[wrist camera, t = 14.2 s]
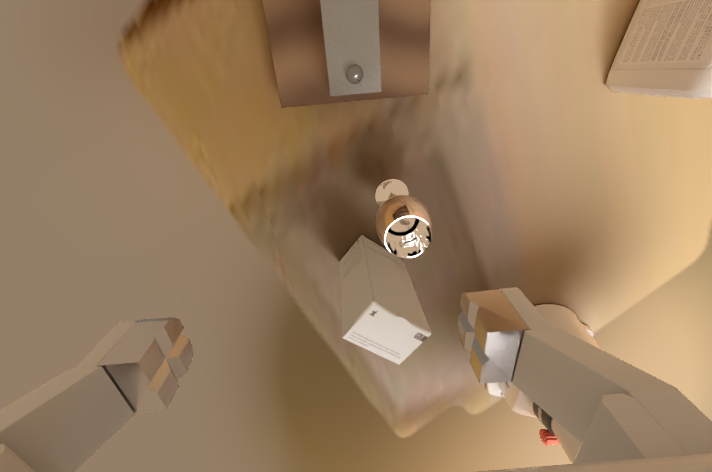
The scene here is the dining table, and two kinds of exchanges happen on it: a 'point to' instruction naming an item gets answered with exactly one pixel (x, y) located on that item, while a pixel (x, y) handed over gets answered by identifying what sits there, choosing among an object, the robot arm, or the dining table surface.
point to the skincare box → (380, 302)
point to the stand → (308, 56)
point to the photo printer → (666, 51)
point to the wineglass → (402, 220)
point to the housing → (352, 46)
